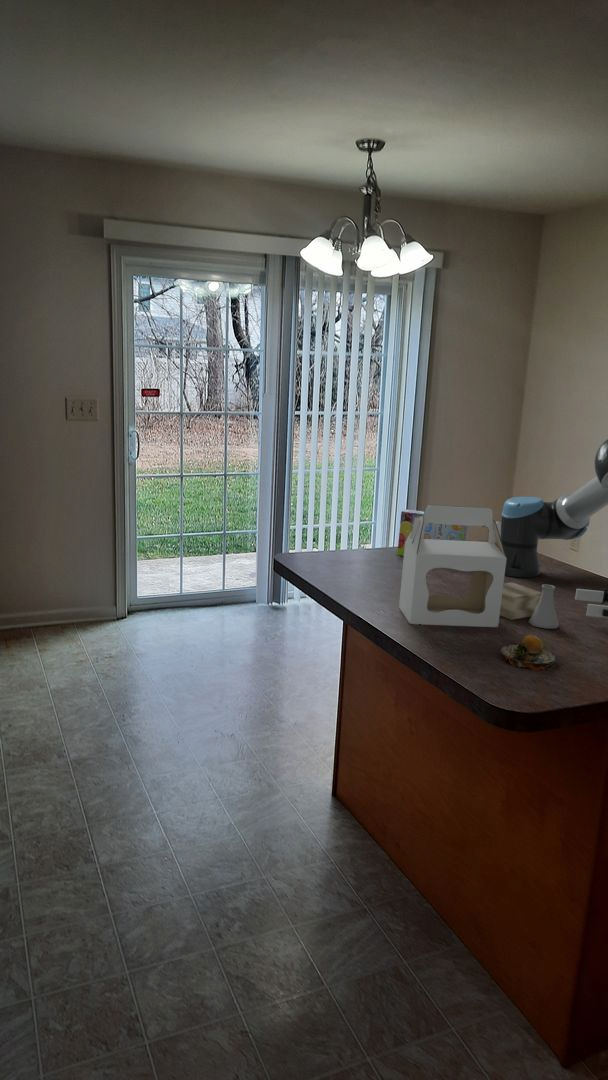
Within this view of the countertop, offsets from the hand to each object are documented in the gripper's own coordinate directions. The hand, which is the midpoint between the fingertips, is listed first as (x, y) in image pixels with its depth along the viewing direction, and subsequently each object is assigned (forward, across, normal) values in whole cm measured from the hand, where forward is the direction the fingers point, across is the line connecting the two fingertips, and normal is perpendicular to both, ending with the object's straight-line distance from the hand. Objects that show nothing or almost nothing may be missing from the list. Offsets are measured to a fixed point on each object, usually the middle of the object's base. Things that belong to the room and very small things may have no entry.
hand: (581, 601), depth 189 cm
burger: (+16, -27, -7) cm, 32 cm away
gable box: (+32, -2, -7) cm, 33 cm away
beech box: (+15, +9, -7) cm, 19 cm away
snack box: (+35, +61, -7) cm, 71 cm away
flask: (+8, 0, -7) cm, 11 cm away
